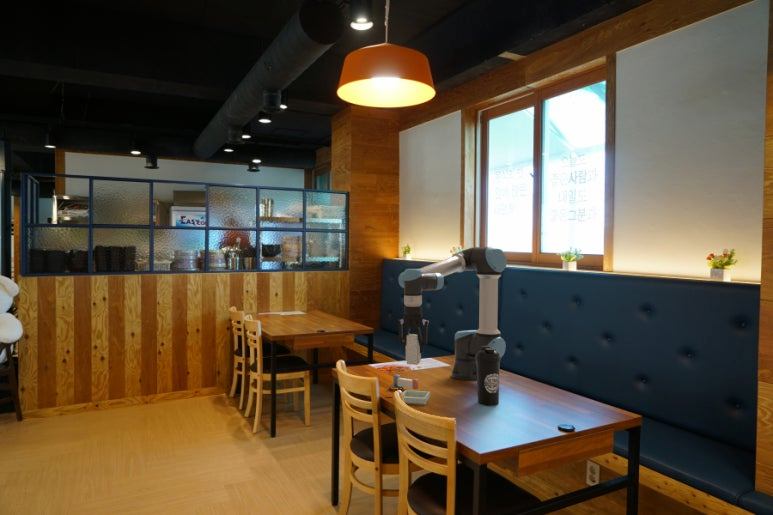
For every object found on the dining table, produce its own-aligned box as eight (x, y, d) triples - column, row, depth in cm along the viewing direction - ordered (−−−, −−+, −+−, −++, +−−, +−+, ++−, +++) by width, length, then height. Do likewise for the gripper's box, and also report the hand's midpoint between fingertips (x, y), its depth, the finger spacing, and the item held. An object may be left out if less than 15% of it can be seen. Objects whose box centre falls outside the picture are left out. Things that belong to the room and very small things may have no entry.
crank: (392, 385, 237) (392, 375, 237) (395, 384, 240) (395, 374, 240) (415, 389, 230) (415, 379, 230) (419, 388, 232) (419, 377, 232)
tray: (405, 395, 225) (404, 390, 225) (429, 397, 222) (429, 391, 222) (399, 403, 214) (399, 397, 214) (425, 405, 211) (425, 398, 211)
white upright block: (409, 361, 221) (409, 333, 221) (419, 362, 220) (419, 334, 220) (406, 364, 217) (406, 335, 217) (417, 364, 216) (417, 336, 215)
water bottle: (482, 407, 208) (482, 350, 207) (471, 400, 217) (471, 346, 217) (505, 405, 210) (505, 349, 210) (493, 398, 220) (493, 344, 220)
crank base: (392, 386, 241) (391, 384, 241) (404, 386, 240) (404, 384, 240) (388, 389, 235) (388, 387, 235) (401, 390, 234) (401, 388, 234)
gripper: (390, 305, 217) (390, 361, 217) (431, 306, 212) (432, 363, 212) (395, 304, 224) (395, 357, 224) (435, 305, 219) (435, 359, 220)
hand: (413, 360), depth 218 cm, fingers closed on white upright block, 4 cm apart
